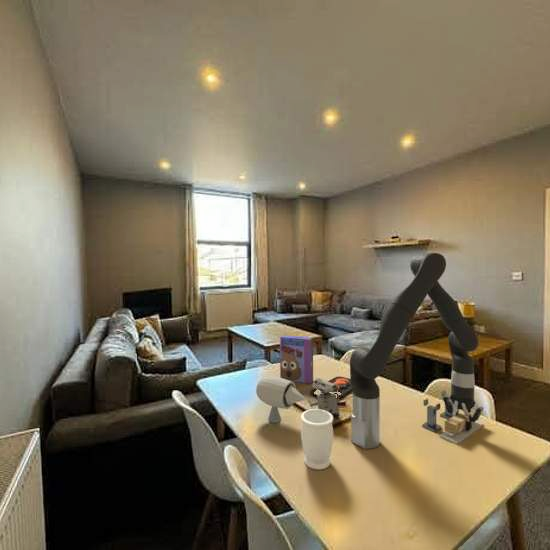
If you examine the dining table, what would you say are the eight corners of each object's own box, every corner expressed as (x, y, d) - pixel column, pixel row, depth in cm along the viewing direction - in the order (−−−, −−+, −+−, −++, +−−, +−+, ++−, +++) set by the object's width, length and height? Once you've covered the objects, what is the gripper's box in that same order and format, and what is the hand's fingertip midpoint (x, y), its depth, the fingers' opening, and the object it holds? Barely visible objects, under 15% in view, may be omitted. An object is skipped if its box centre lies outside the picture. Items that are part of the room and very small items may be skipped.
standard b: (453, 421, 124) (453, 396, 124) (439, 416, 128) (439, 392, 128) (458, 417, 127) (459, 393, 127) (445, 412, 131) (445, 389, 131)
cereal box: (280, 379, 171) (279, 336, 170) (283, 376, 175) (283, 334, 174) (310, 384, 164) (310, 339, 163) (313, 381, 168) (312, 337, 168)
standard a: (435, 432, 116) (435, 406, 116) (421, 426, 120) (421, 401, 120) (441, 428, 119) (442, 402, 119) (428, 422, 123) (428, 397, 123)
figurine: (324, 408, 137) (324, 374, 136) (342, 419, 127) (342, 383, 126) (307, 413, 132) (307, 378, 131) (325, 425, 122) (324, 388, 122)
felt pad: (456, 444, 108) (456, 442, 108) (439, 436, 113) (439, 435, 113) (483, 424, 121) (483, 423, 121) (466, 418, 126) (466, 417, 126)
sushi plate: (337, 378, 173) (337, 372, 172) (391, 393, 153) (391, 385, 153) (307, 396, 151) (307, 388, 151) (366, 415, 131) (366, 406, 131)
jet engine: (272, 438, 113) (272, 391, 113) (252, 414, 131) (252, 374, 131) (307, 428, 120) (307, 384, 119) (283, 407, 138) (283, 368, 137)
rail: (454, 435, 110) (455, 425, 110) (444, 431, 113) (444, 421, 113) (478, 419, 121) (478, 410, 121) (468, 415, 124) (468, 406, 124)
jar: (333, 474, 93) (333, 426, 93) (299, 470, 96) (298, 422, 95) (333, 453, 104) (333, 409, 103) (303, 450, 106) (302, 407, 105)
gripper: (438, 379, 120) (438, 423, 121) (479, 391, 109) (478, 439, 109) (448, 375, 124) (447, 417, 125) (488, 386, 113) (487, 432, 114)
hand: (462, 427), depth 117 cm, fingers closed on rail, 3 cm apart
